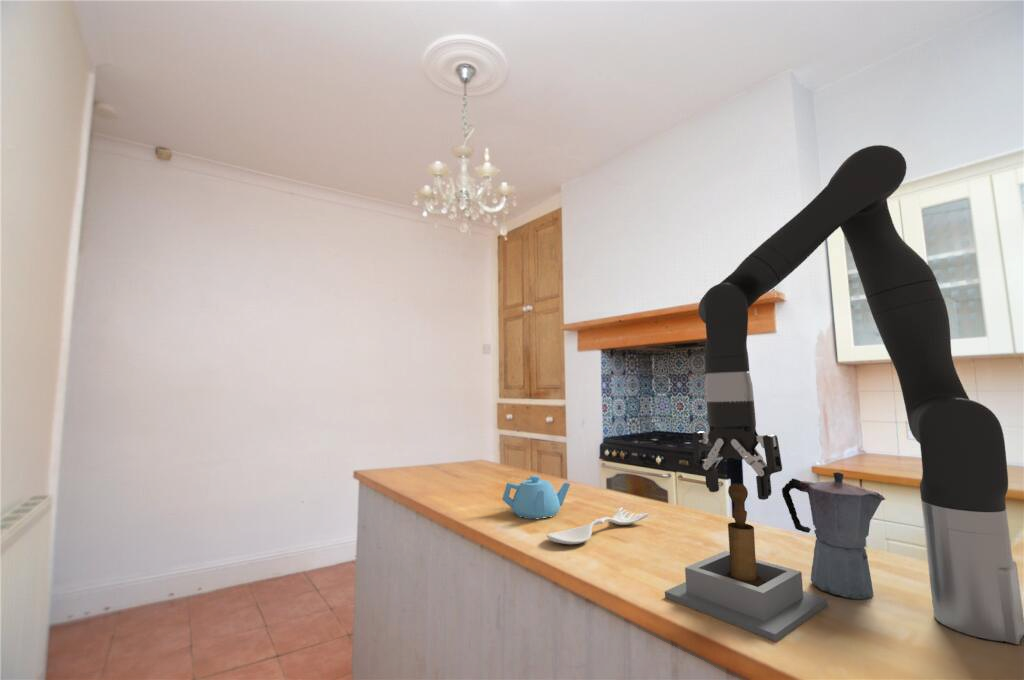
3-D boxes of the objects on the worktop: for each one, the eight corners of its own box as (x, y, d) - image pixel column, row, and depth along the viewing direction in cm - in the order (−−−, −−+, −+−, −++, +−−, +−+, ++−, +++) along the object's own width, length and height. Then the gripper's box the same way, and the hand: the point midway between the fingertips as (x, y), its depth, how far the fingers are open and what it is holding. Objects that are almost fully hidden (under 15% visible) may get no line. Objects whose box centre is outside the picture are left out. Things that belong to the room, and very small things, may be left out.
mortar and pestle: (773, 605, 73) (764, 488, 75) (729, 602, 75) (721, 487, 77) (759, 587, 80) (751, 480, 82) (719, 585, 81) (712, 479, 83)
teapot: (530, 505, 145) (529, 469, 146) (572, 512, 136) (571, 474, 137) (499, 515, 133) (498, 477, 135) (542, 524, 124) (541, 482, 125)
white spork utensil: (650, 524, 123) (649, 511, 123) (567, 554, 102) (566, 537, 102) (621, 518, 129) (621, 505, 130) (538, 544, 109) (538, 528, 109)
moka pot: (898, 610, 73) (884, 480, 75) (785, 588, 82) (776, 471, 84) (893, 589, 81) (881, 471, 83) (790, 570, 90) (782, 464, 92)
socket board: (827, 604, 75) (824, 572, 76) (775, 641, 65) (773, 603, 65) (721, 571, 90) (719, 544, 90) (665, 597, 79) (663, 566, 80)
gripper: (782, 397, 78) (792, 498, 76) (703, 398, 89) (710, 486, 87) (761, 399, 73) (770, 506, 71) (680, 400, 84) (687, 492, 82)
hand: (737, 495), depth 79 cm, fingers open, 8 cm apart
